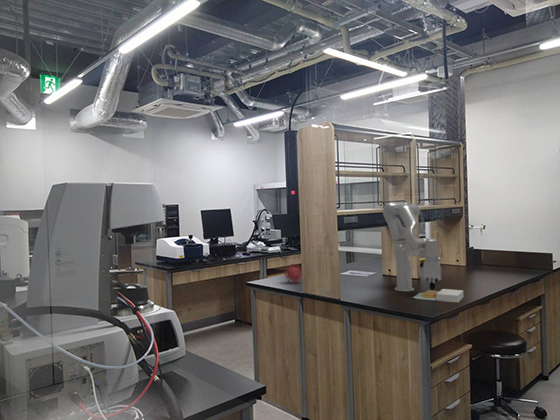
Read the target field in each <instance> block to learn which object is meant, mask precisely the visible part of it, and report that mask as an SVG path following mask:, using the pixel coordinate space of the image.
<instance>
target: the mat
mask: <svg viewBox="0 0 560 420" xmlns="http://www.w3.org/2000/svg"><path fill="white" fill-rule="evenodd" d="M422 293H423V292H419V293H417V294H416V295H414V296H413V297H412V299H413V298H415V299H416V300H424V301H425V300H427V301H437V300H436V298H434V299H433V298H425V297H422ZM415 299H414V300H415Z"/></svg>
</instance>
